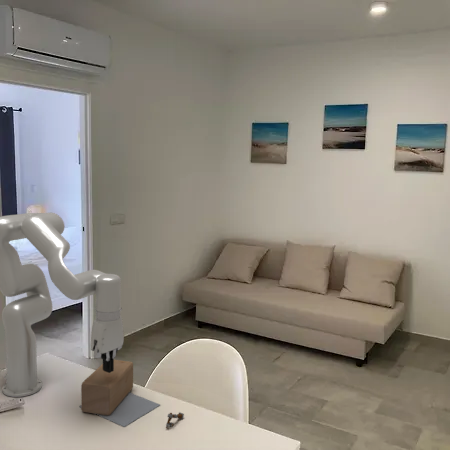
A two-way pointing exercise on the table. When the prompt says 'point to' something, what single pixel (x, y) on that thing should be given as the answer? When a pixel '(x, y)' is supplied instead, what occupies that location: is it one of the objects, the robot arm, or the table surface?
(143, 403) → the mat
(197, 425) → the table surface
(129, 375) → the wooden block
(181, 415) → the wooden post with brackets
